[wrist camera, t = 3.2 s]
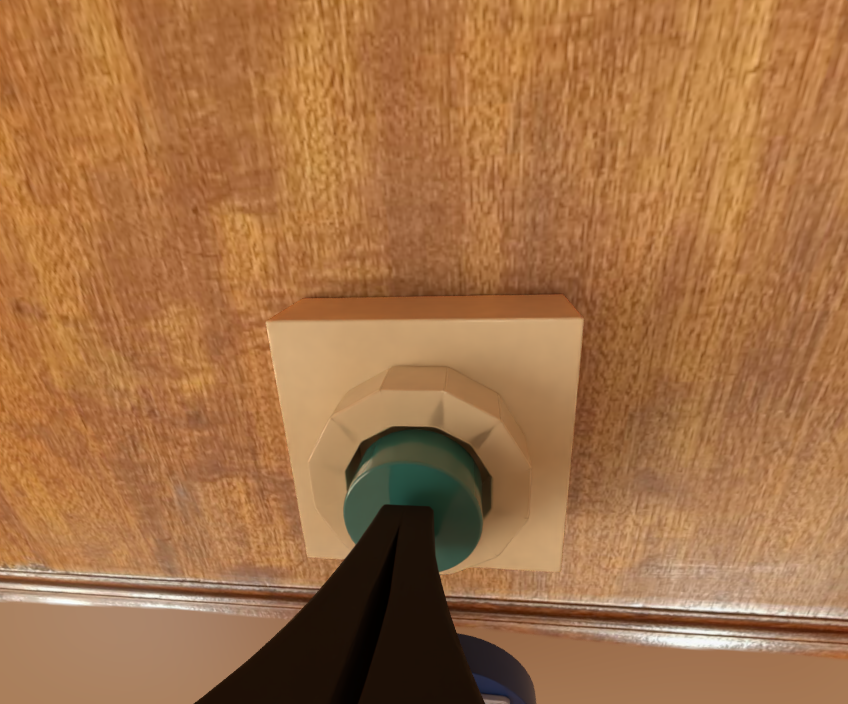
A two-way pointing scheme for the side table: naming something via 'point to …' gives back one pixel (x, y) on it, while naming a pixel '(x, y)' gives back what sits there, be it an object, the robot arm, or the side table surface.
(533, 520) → the push button box
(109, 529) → the side table surface
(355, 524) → the teal button
